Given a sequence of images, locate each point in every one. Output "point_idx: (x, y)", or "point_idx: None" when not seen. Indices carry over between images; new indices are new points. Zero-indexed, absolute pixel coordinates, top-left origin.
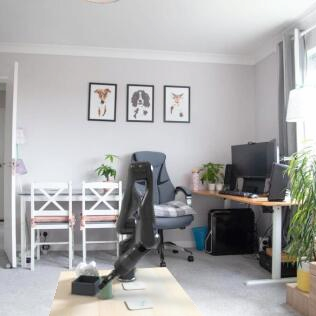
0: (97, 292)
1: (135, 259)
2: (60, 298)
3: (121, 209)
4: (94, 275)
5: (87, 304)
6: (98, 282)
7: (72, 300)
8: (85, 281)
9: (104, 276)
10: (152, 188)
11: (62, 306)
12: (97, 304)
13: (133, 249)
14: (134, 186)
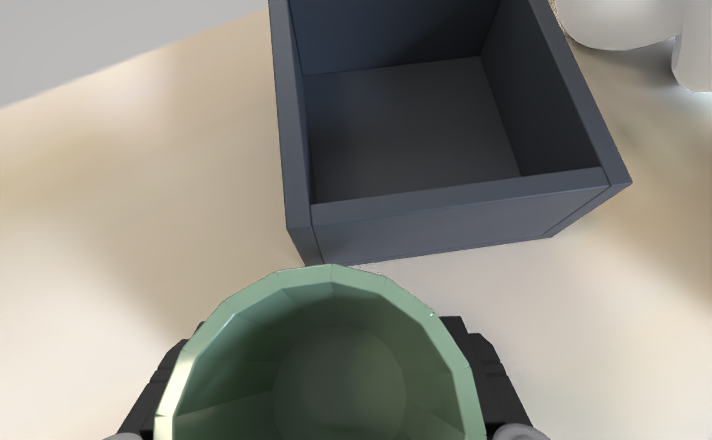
0: (397, 257)
1: None
2: (187, 52)
3: None
4: (682, 52)
5: (95, 309)
6: (443, 218)
7: (166, 144)
8: (503, 53)
9: (419, 326)
10: None
11: (32, 137)
12: (108, 413)
13: None
14: None
